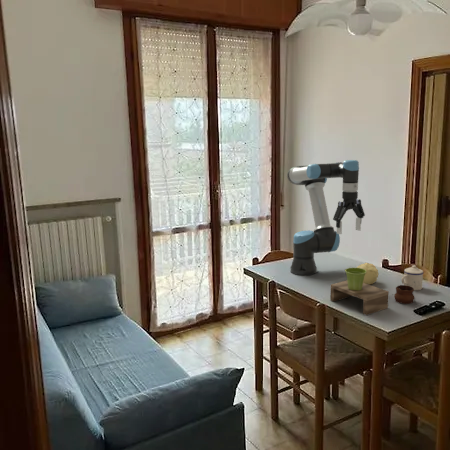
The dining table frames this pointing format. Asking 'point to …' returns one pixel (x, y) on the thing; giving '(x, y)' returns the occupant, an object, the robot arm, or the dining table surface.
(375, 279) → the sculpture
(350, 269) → the plant pot
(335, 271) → the dining table surface
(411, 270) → the teacup with lid
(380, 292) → the walnut shelf
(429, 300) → the dining table surface
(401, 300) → the ceramic pot
